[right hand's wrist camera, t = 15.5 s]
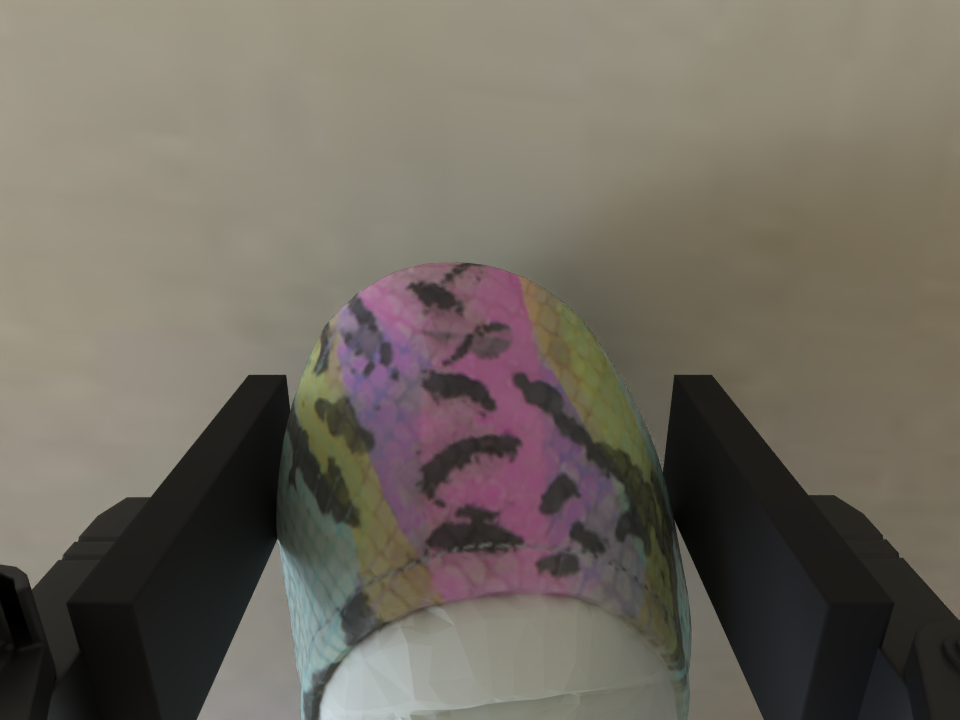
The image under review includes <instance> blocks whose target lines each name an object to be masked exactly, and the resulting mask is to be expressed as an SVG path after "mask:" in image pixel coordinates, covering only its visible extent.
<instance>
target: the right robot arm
mask: <svg viewBox="0 0 960 720" xmlns="http://www.w3.org/2000/svg"><path fill="white" fill-rule="evenodd" d="M289 415H290V404H289V396H288V387H287V379H286V375H248V377H247V378H246V379H245V380H244V382H243V383H242V384H241V385H240V387H239V388H238V389H237V390H236V392H235V393H234V394H233V395H232V397H231V398H230V399H229V400H228V402H227V403H226V404H225V405H224V407H223V408H222V409H221V410H220V412H219V413H218V414H217V415H216V417H215V418H214V419H213V420H212V422H211V423H210V424H209V425H208V426H207V428H206V429H205V430H204V431H203V433H202V434H201V435H200V436H199V438H198V439H197V440H196V441H195V443H194V444H193V445H192V446H191V448H190V449H189V450H188V451H187V453H186V454H185V455H184V456H183V458H182V459H181V460H180V461H179V463H178V464H177V465H176V466H175V468H174V469H173V470H172V471H171V473H170V474H169V475H168V476H167V478H166V479H165V480H164V481H163V483H162V484H161V485H160V486H159V488H158V489H157V490H156V491H155V493H154V494H153V495H152V496H151V497H127V498H125V499H124V500H122V501H120V502H119V503H117V504H116V505H114V506H113V507H111V508H109V509H108V510H106V511H105V512H103V513H102V514H100V515H98V516H97V517H96V519H95V520H94V521H93V522H92V523H91V524H90V525H89V526H88V528H87V529H86V530H85V531H84V532H83V533H82V534H81V535H80V537H79V540H78V542H74V543H73V544H72V545H71V547H70V548H69V549H68V550H67V551H66V552H65V553H64V554H63V558H62V560H58V561H57V562H56V563H55V565H54V566H53V567H52V568H51V569H50V570H49V571H48V572H47V574H46V575H45V576H44V577H43V578H42V579H41V580H40V581H39V583H38V584H37V585H36V586H35V587H34V588H33V589H31V586H30V583H29V580H28V577H27V574H25V573H24V572H22V571H21V570H20V569H18V568H17V567H13V566H6V565H0V720H197V717H198V715H199V713H200V711H201V708H202V706H203V704H204V702H205V700H206V697H207V695H208V693H209V691H210V688H211V686H212V684H213V682H214V679H215V677H216V675H217V673H218V671H219V668H220V666H221V664H222V662H223V659H224V657H225V655H226V653H227V650H228V648H229V646H230V644H231V641H232V639H233V637H234V635H235V633H236V630H237V628H238V626H239V624H240V621H241V619H242V617H243V615H244V612H245V610H246V608H247V606H248V603H249V601H250V599H251V597H252V595H253V592H254V590H255V588H256V586H257V583H258V581H259V579H260V577H261V574H262V572H263V570H264V568H265V566H266V563H267V561H268V559H269V557H270V554H271V552H272V550H273V548H274V545H275V543H276V541H277V531H276V505H277V489H278V478H279V468H280V461H281V454H282V447H283V440H284V436H285V432H286V428H287V424H288V419H289ZM663 476H664V479H665V482H666V486H667V489H668V493H669V498H670V502H671V507H672V512H673V516H674V520H675V522H676V524H677V526H678V529H679V531H680V533H681V535H682V538H683V540H684V542H685V544H686V547H687V549H688V551H689V553H690V555H691V558H692V560H693V562H694V564H695V567H696V569H697V571H698V573H699V576H700V578H701V580H702V582H703V585H704V587H705V589H706V591H707V593H708V596H709V598H710V600H711V602H712V605H713V607H714V609H715V611H716V614H717V616H718V618H719V620H720V623H721V625H722V627H723V629H724V631H725V634H726V636H727V638H728V640H729V643H730V645H731V647H732V649H733V652H734V654H735V656H736V658H737V660H738V663H739V665H740V667H741V669H742V672H743V674H744V676H745V678H746V681H747V683H748V685H749V687H750V690H751V692H752V694H753V696H754V698H755V701H756V703H757V705H758V707H759V710H760V712H761V714H762V716H763V719H764V720H960V620H958V619H957V618H956V617H955V616H954V614H953V613H952V612H951V611H950V610H949V609H948V608H947V607H946V605H945V604H944V603H943V602H942V601H941V600H940V599H939V598H938V597H937V595H936V594H935V593H934V592H933V591H932V590H931V589H930V588H929V586H928V585H927V584H926V583H925V582H924V581H923V580H922V579H921V578H920V576H919V575H918V574H917V573H916V572H915V571H914V570H913V569H912V568H911V566H910V565H909V564H908V563H907V562H906V561H905V560H904V559H903V558H899V553H898V552H897V551H896V550H895V549H894V547H893V546H892V545H891V544H890V543H889V542H888V541H887V540H883V535H882V534H881V533H880V532H879V531H878V530H877V528H876V527H875V526H874V525H873V524H872V523H871V522H870V521H869V520H868V518H867V517H866V516H865V515H864V514H863V513H861V512H860V511H858V510H857V509H855V508H853V507H852V506H850V505H849V504H847V503H845V502H844V501H842V500H841V499H839V498H838V497H836V496H834V495H808V494H807V493H806V492H805V491H804V489H803V488H802V487H801V486H800V484H799V483H798V482H797V481H796V479H795V478H794V477H793V476H792V474H791V473H790V472H789V471H788V469H787V468H786V467H785V466H784V465H783V463H782V462H781V461H780V460H779V458H778V457H777V456H776V455H775V453H774V452H773V451H772V450H771V448H770V447H769V446H768V445H767V443H766V442H765V441H764V440H763V438H762V437H761V436H760V435H759V433H758V432H757V431H756V430H755V428H754V427H753V426H752V425H751V423H750V422H749V421H748V420H747V418H746V417H745V416H744V415H743V413H742V412H741V411H740V410H739V408H738V407H737V406H736V405H735V403H734V402H733V401H732V400H731V398H730V397H729V396H728V395H727V393H726V392H725V391H724V390H723V388H722V387H721V386H720V385H719V383H718V382H717V381H716V380H715V378H714V377H713V376H712V375H674V383H673V392H672V400H671V409H670V417H669V426H668V434H667V443H666V451H665V460H664V469H663Z"/></svg>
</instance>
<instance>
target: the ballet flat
mask: <svg viewBox="0 0 960 720" xmlns="http://www.w3.org/2000/svg"><path fill="white" fill-rule="evenodd" d="M276 531H277V539H278V544H279V549H280V555H281V562H282V569H283V576H284V582H285V589H286V594H287V600H288V605H289V611H290V618H291V629H292V634H293V641H294V653H295V661H296V667H297V671H298V675H299V679H300V683H301V688H302V691H301V717H302V720H687V718H688V710H689V699H690V696H689V675H688V672H689V667H690V653H691V618H690V608H689V600H688V593H687V587H686V581H685V576H684V570H683V565H682V559H681V554H680V549H679V544H678V539H677V533H676V527H675V521H674V516H673V512H672V507H671V502H670V498H669V493H668V489H667V486H666V482H665V479H664V476H663V473H662V469H661V466H660V463H659V459H658V456H657V453H656V450H655V448H654V445H653V443H652V440H651V437H650V435H649V432H648V430H647V427H646V425H645V423H644V420H643V418H642V416H641V414H640V412H639V410H638V409H637V407H636V405H635V403H634V401H633V399H632V398H631V396H630V394H629V392H628V390H627V388H626V387H625V385H624V383H623V381H622V380H621V378H620V376H619V375H618V373H617V371H616V370H615V368H614V366H613V365H612V363H611V361H610V360H609V358H608V356H607V354H606V353H605V351H604V349H603V348H602V346H601V345H600V344H599V342H598V341H597V340H596V338H595V337H594V336H593V334H592V333H591V332H590V331H589V329H588V328H587V327H586V326H585V324H584V323H583V322H582V321H581V320H580V319H579V318H578V317H577V316H576V315H575V314H574V313H573V312H572V311H571V310H570V309H569V308H568V307H567V306H566V305H564V304H563V303H562V302H561V301H559V300H558V299H557V298H556V297H554V296H553V295H552V294H551V293H549V292H548V291H546V290H545V289H543V288H541V287H540V286H538V285H536V284H535V283H533V282H531V281H530V280H528V279H526V278H524V277H521V276H518V275H515V274H513V273H510V272H507V271H504V270H501V269H498V268H494V267H490V266H486V265H479V264H471V263H432V264H423V265H418V266H414V267H410V268H406V269H403V270H400V271H397V272H394V273H392V274H389V275H388V276H386V277H384V278H382V279H381V280H379V281H377V282H376V283H374V284H372V285H371V286H369V287H367V288H366V289H364V290H362V291H361V292H359V293H357V294H356V295H355V296H354V297H353V298H352V299H351V300H350V301H349V302H348V303H347V304H345V305H344V306H343V307H342V308H341V309H340V310H339V311H338V312H337V313H336V314H335V315H334V316H333V317H332V319H331V320H330V321H329V322H328V323H327V325H326V326H325V328H324V330H323V332H322V334H321V336H320V338H319V339H318V341H317V343H316V345H315V347H314V349H313V351H312V353H311V355H310V357H309V360H308V362H307V365H306V367H305V370H304V373H303V376H302V379H301V381H300V384H299V387H298V390H297V393H296V395H295V398H294V401H293V404H292V407H291V411H290V415H289V419H288V424H287V428H286V432H285V436H284V440H283V447H282V454H281V461H280V468H279V478H278V489H277V505H276Z"/></svg>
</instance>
